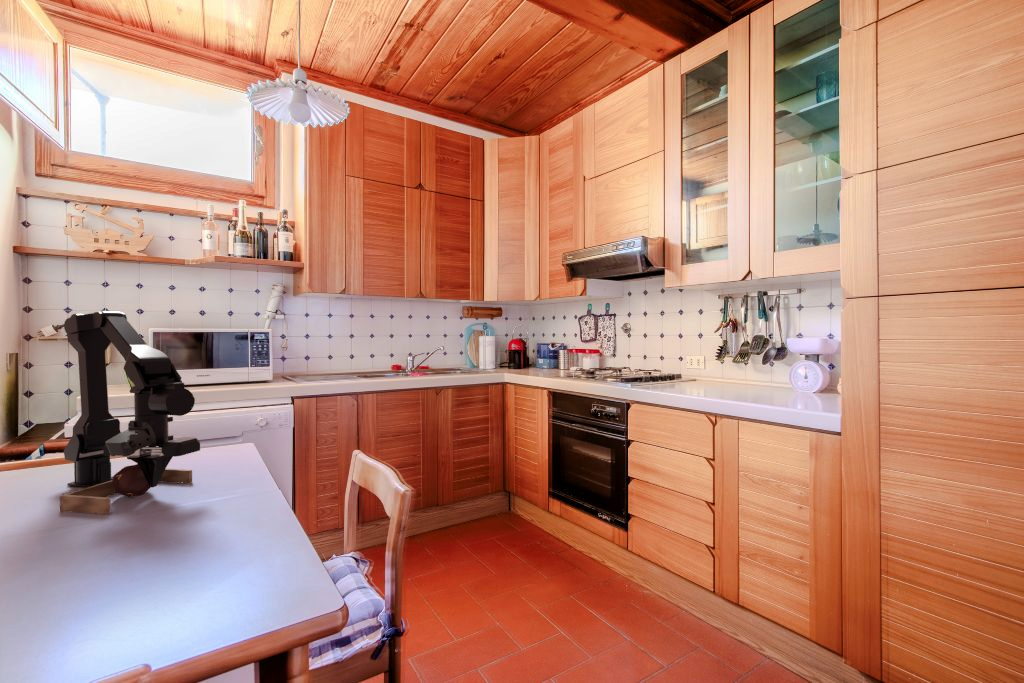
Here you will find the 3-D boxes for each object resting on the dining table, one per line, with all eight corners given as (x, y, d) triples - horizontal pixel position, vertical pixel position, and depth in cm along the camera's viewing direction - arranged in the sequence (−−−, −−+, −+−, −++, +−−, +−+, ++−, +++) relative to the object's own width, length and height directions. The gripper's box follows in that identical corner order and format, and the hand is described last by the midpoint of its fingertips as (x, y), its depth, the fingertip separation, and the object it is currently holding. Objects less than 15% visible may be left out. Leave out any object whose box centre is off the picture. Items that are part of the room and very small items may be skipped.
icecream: (154, 470, 100) (163, 461, 113) (110, 467, 97) (124, 457, 110) (144, 505, 99) (154, 491, 112) (99, 503, 95) (115, 489, 108)
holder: (60, 510, 95) (59, 495, 95) (152, 480, 115) (152, 467, 115) (106, 514, 93) (106, 499, 93) (192, 482, 114) (192, 469, 114)
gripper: (75, 420, 97) (77, 497, 97) (155, 420, 94) (157, 500, 94) (128, 412, 108) (129, 481, 108) (201, 411, 105) (203, 483, 105)
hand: (153, 486), depth 103 cm, fingers closed
